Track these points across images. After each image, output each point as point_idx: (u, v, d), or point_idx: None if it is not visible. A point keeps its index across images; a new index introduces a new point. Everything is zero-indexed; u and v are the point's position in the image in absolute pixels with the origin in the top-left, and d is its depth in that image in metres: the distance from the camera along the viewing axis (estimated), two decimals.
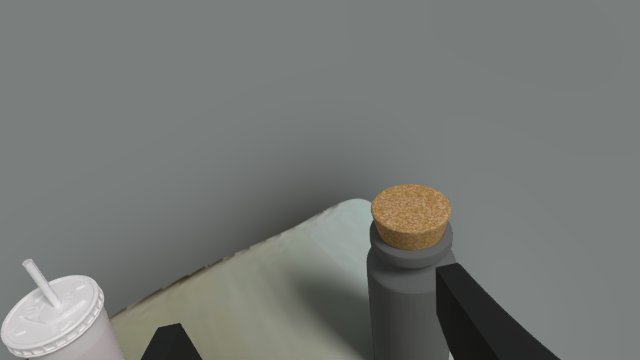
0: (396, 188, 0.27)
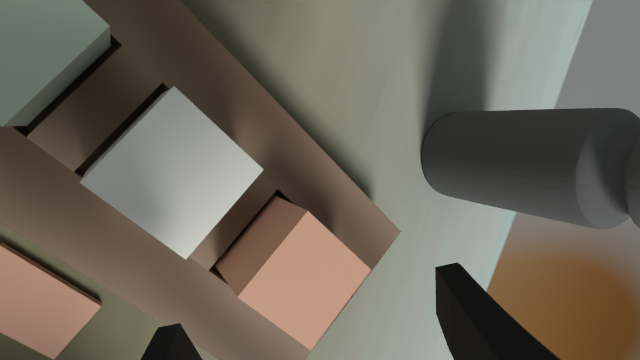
0: None
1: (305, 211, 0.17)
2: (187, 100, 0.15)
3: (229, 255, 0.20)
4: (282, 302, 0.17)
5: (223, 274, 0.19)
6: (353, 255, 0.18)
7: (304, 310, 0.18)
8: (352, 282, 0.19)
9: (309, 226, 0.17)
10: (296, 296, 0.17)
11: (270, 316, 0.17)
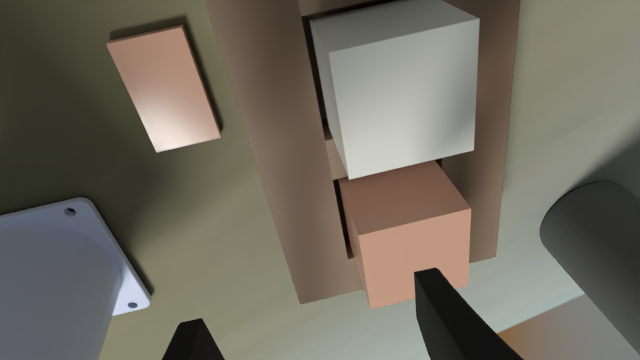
0: None
1: (467, 206, 0.16)
2: (476, 41, 0.12)
3: (358, 180, 0.18)
4: (384, 262, 0.17)
5: (346, 196, 0.18)
6: (466, 266, 0.17)
7: (393, 279, 0.17)
8: None
9: (459, 222, 0.16)
10: (398, 265, 0.17)
11: (367, 266, 0.17)
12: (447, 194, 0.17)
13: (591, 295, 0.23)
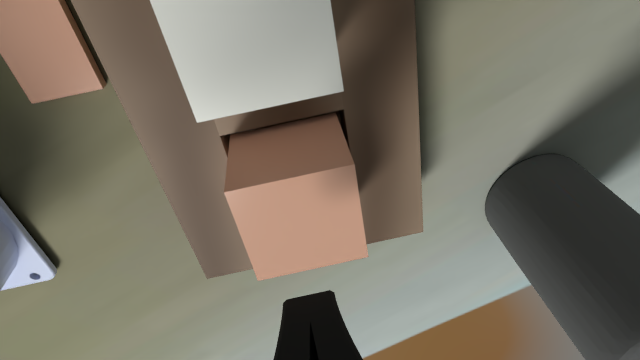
0: None
1: (351, 162, 0.14)
2: None
3: (249, 137, 0.16)
4: (263, 226, 0.15)
5: (230, 152, 0.16)
6: (362, 234, 0.16)
7: (277, 246, 0.15)
8: (342, 254, 0.16)
9: (344, 180, 0.14)
10: (280, 229, 0.15)
11: (242, 230, 0.15)
12: (335, 150, 0.15)
13: (528, 276, 0.21)
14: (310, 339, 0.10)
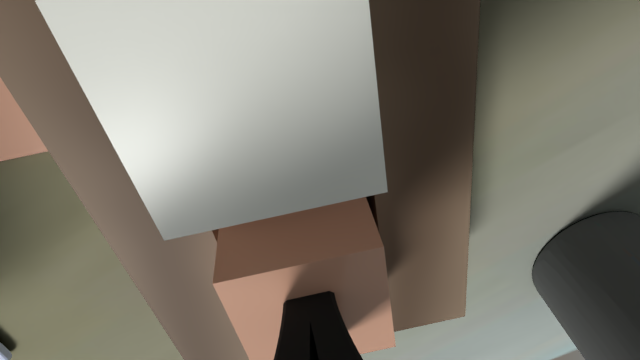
0: None
1: (379, 243, 0.11)
2: None
3: None
4: (263, 318, 0.11)
5: None
6: (390, 322, 0.12)
7: None
8: (363, 345, 0.13)
9: (369, 265, 0.11)
10: None
11: (237, 324, 0.11)
12: (357, 222, 0.11)
13: None
14: (310, 339, 0.10)
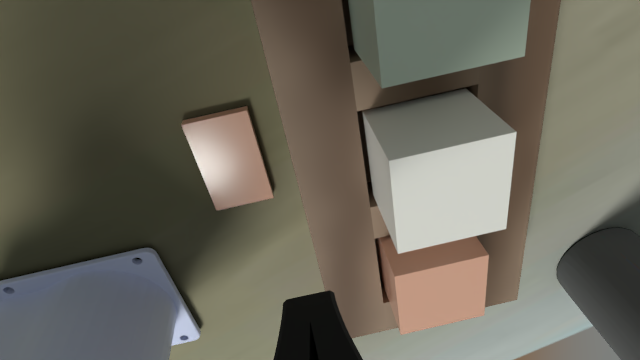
0: None
1: (485, 253, 0.19)
2: (513, 148, 0.14)
3: None
4: (414, 297, 0.20)
5: (381, 238, 0.21)
6: (483, 299, 0.21)
7: (421, 311, 0.20)
8: (465, 314, 0.21)
9: (479, 265, 0.19)
10: (426, 299, 0.20)
11: (400, 300, 0.20)
12: (468, 240, 0.20)
13: (604, 336, 0.25)
14: (310, 339, 0.10)
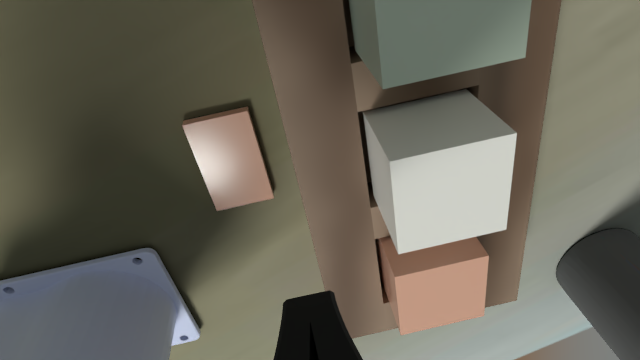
0: None
1: (486, 254, 0.19)
2: (513, 149, 0.14)
3: None
4: (415, 297, 0.20)
5: (381, 239, 0.21)
6: (483, 300, 0.21)
7: (421, 311, 0.20)
8: (465, 315, 0.21)
9: (479, 266, 0.19)
10: (426, 300, 0.20)
11: (400, 301, 0.20)
12: (468, 241, 0.20)
13: (604, 336, 0.25)
14: (310, 339, 0.10)
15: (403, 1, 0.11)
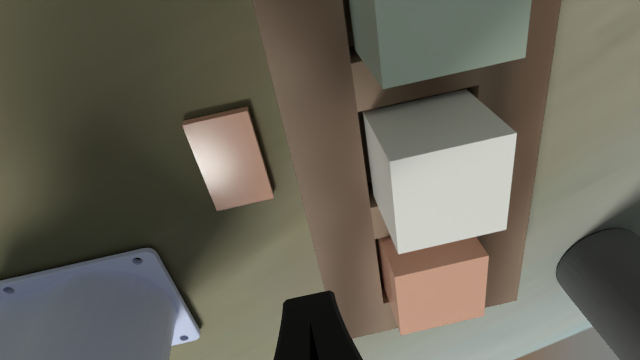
0: None
1: (486, 254, 0.19)
2: (513, 149, 0.14)
3: None
4: (415, 297, 0.20)
5: (381, 239, 0.21)
6: (483, 300, 0.21)
7: (421, 311, 0.20)
8: (465, 315, 0.21)
9: (479, 266, 0.19)
10: (426, 300, 0.20)
11: (400, 301, 0.20)
12: (468, 241, 0.20)
13: (604, 336, 0.25)
14: (310, 339, 0.10)
15: (403, 1, 0.11)
